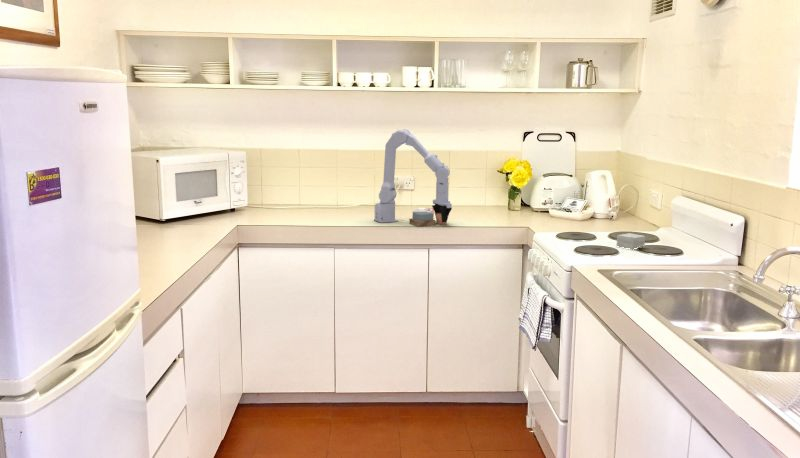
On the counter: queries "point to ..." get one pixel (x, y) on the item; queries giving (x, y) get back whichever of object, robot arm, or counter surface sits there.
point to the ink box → (424, 210)
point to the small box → (630, 240)
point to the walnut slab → (422, 223)
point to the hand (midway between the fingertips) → (441, 221)
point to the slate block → (422, 216)
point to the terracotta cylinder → (439, 219)
